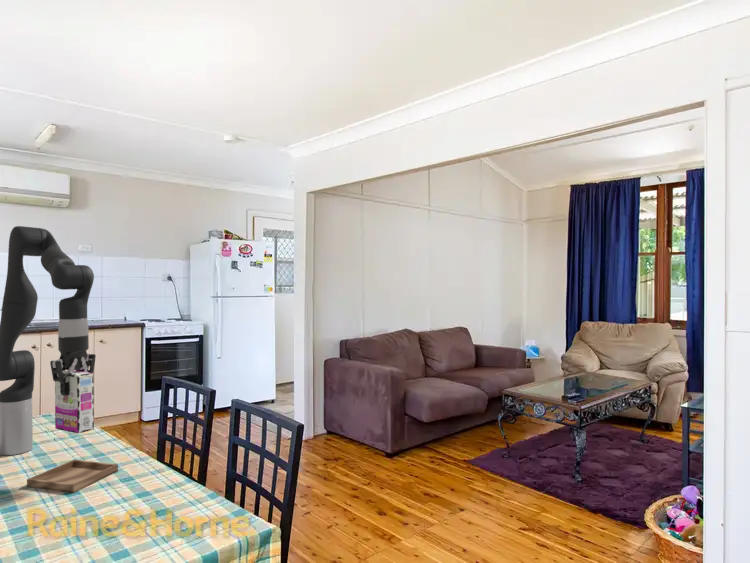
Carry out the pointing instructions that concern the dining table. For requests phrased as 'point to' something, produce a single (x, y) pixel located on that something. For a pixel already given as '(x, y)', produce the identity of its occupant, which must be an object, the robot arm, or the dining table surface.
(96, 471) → the walnut tray
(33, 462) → the dining table surface
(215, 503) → the dining table surface
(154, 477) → the dining table surface
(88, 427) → the candy bar box
